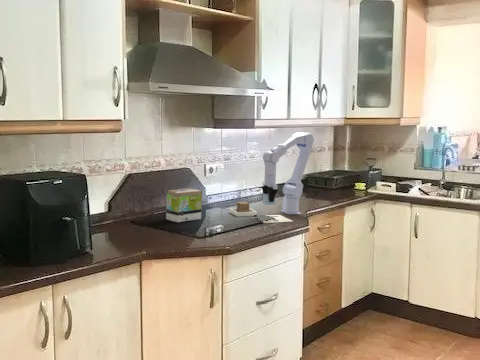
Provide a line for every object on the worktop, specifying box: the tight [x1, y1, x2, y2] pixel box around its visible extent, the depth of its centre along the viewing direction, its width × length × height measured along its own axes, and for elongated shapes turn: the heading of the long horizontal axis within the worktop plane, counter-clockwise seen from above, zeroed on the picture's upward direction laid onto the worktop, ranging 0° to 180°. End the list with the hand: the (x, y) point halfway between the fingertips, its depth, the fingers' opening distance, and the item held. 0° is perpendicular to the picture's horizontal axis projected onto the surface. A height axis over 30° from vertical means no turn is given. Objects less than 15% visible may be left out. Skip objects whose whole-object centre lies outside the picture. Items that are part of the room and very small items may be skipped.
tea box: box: [165, 187, 203, 223], centre depth 281 cm, size 15×10×15 cm
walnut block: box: [236, 201, 250, 212], centre depth 297 cm, size 5×5×6 cm
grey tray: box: [229, 207, 258, 218], centre depth 297 cm, size 11×11×2 cm
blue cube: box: [261, 193, 277, 206], centre depth 292 cm, size 5×5×5 cm
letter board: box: [262, 214, 293, 224], centre depth 287 cm, size 16×16×1 cm
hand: (269, 200), depth 292 cm, fingers closed on blue cube, 5 cm apart
